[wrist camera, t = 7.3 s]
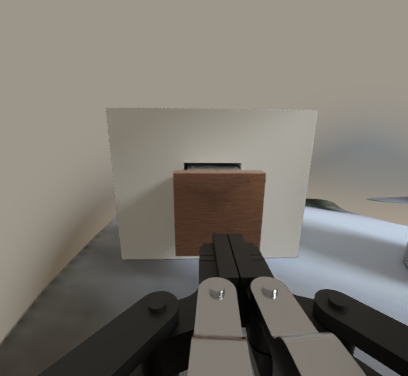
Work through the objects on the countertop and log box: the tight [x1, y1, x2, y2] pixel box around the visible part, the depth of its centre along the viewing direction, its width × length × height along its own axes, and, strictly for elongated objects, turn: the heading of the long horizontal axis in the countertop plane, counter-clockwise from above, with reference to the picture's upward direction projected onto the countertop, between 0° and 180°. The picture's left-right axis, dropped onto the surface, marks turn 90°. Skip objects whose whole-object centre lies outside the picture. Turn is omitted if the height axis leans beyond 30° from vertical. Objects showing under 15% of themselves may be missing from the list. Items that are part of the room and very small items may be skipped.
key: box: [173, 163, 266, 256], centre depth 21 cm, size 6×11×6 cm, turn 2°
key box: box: [106, 108, 318, 260], centre depth 26 cm, size 20×8×16 cm, turn 92°
